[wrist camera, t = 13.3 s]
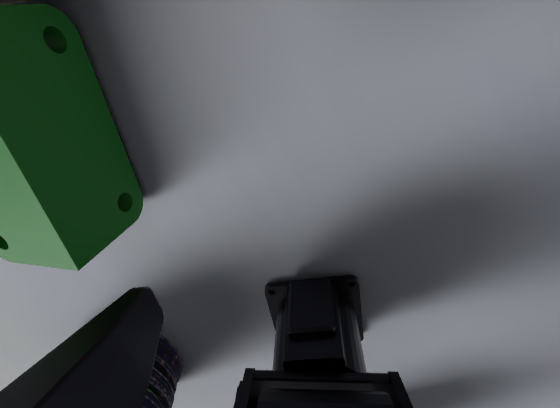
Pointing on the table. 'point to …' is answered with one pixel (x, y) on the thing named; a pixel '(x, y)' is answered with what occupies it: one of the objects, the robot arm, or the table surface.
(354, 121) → the table surface
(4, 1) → the socket board
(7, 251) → the clamp
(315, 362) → the robot arm
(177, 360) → the storage jar
